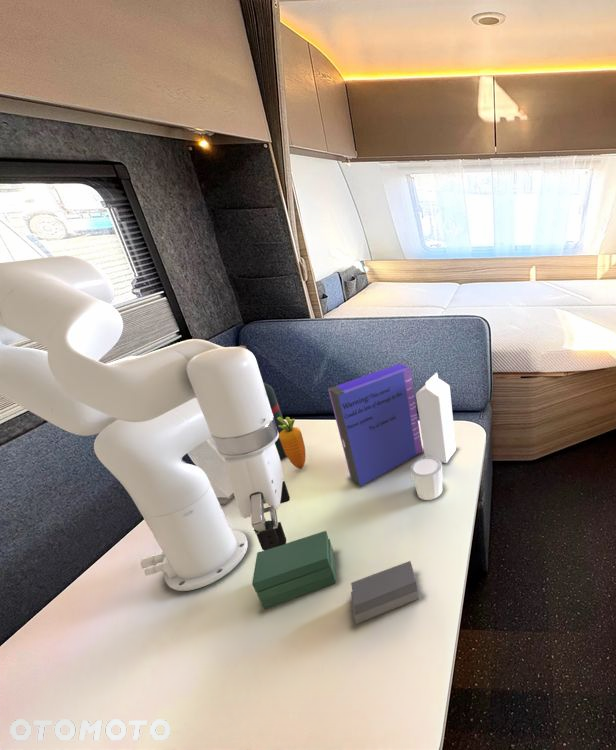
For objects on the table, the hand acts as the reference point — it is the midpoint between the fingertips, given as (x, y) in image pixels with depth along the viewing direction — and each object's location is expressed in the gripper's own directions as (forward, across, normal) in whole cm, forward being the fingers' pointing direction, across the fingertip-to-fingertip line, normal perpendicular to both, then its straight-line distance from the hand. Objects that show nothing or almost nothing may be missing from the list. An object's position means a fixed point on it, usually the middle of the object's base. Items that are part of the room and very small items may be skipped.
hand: (277, 522), depth 62 cm
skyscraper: (+14, -32, -16) cm, 39 cm away
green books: (+13, +1, +1) cm, 13 cm away
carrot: (+14, -33, 0) cm, 36 cm away
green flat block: (+9, 0, 0) cm, 9 cm away
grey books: (+13, +11, +14) cm, 22 cm away
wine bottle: (+14, -44, -7) cm, 47 cm away
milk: (+13, -23, +33) cm, 42 cm away
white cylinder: (+13, -11, +27) cm, 32 cm away
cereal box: (+13, -25, +20) cm, 35 cm away
